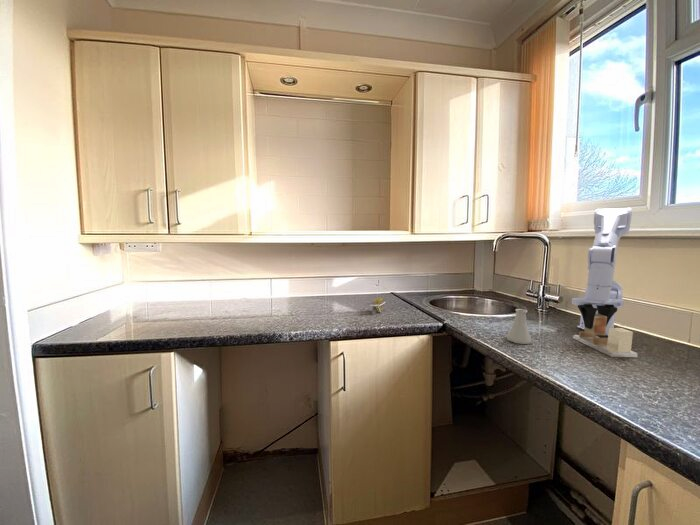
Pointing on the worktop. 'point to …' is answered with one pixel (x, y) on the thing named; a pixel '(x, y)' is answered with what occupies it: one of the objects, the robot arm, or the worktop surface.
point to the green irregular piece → (377, 305)
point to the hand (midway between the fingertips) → (594, 328)
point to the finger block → (598, 325)
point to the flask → (519, 329)
